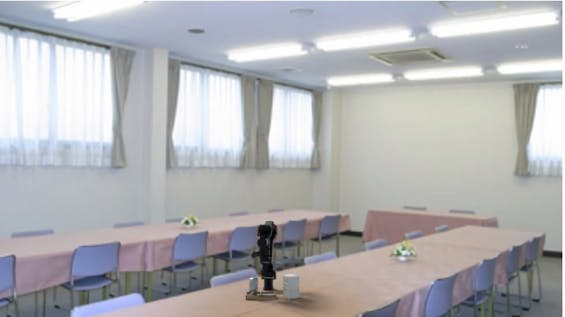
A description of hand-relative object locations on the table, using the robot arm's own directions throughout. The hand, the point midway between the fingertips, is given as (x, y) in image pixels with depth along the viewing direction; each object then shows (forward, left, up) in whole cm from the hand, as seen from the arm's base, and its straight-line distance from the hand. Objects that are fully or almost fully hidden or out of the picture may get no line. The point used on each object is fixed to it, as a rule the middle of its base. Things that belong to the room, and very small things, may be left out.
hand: (264, 272), depth 302 cm
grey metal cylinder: (+7, -7, -12) cm, 15 cm away
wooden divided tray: (+7, -2, -13) cm, 15 cm away
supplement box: (+7, +15, -13) cm, 21 cm away
